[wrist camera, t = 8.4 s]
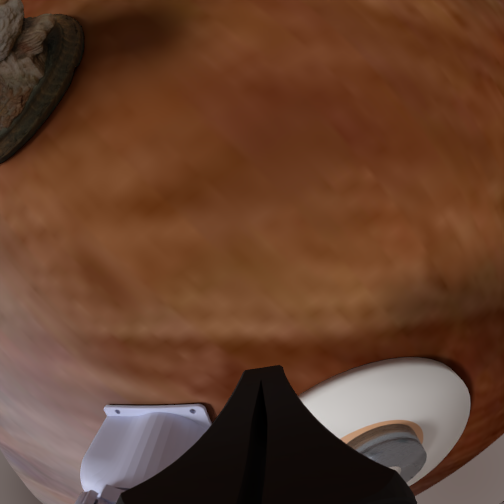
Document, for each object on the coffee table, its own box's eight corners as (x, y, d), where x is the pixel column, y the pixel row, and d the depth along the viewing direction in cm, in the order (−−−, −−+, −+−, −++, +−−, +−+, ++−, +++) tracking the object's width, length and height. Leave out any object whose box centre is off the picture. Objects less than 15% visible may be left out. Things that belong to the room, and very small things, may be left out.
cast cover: (336, 484, 22) (341, 507, 19) (330, 440, 20) (336, 468, 17) (411, 460, 22) (421, 480, 19) (419, 411, 20) (433, 434, 17)
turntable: (270, 513, 26) (270, 522, 24) (226, 389, 21) (224, 402, 20) (440, 468, 24) (444, 476, 23) (480, 325, 20) (490, 332, 18)
